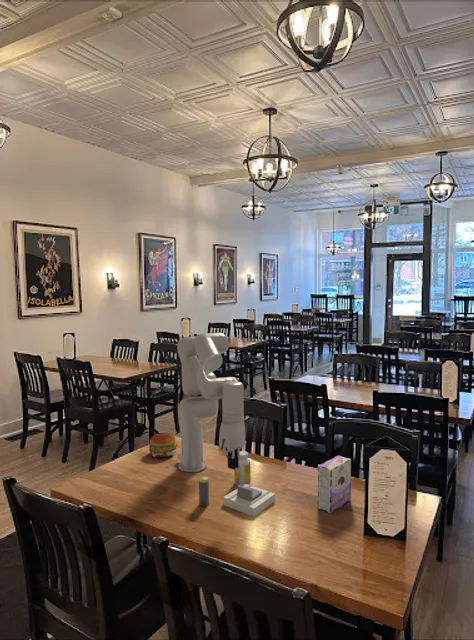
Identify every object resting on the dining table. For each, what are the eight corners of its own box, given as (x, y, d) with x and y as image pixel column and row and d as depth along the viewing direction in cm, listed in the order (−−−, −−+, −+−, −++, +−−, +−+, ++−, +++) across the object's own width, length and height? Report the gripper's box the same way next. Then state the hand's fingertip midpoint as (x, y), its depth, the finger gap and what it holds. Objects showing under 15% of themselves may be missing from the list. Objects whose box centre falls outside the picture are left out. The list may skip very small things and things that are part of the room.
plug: (196, 505, 164) (196, 479, 164) (203, 501, 167) (203, 475, 167) (204, 508, 162) (204, 481, 161) (210, 504, 165) (210, 478, 164)
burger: (163, 447, 224) (162, 427, 223) (183, 452, 216) (182, 432, 216) (143, 455, 213) (142, 435, 213) (163, 461, 205) (163, 440, 205)
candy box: (337, 495, 171) (338, 454, 170) (351, 501, 167) (351, 458, 166) (316, 508, 162) (317, 464, 161) (330, 514, 158) (331, 469, 156)
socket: (223, 505, 164) (223, 496, 164) (245, 491, 176) (245, 483, 175) (254, 516, 156) (254, 507, 156) (275, 501, 167) (275, 492, 167)
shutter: (236, 495, 165) (236, 485, 164) (247, 488, 170) (247, 479, 170) (251, 500, 161) (251, 490, 160) (262, 493, 166) (262, 483, 166)
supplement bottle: (251, 480, 185) (251, 450, 184) (250, 487, 179) (250, 456, 178) (235, 479, 186) (235, 449, 185) (233, 486, 180) (233, 455, 179)
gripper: (237, 410, 163) (237, 458, 165) (210, 420, 151) (211, 472, 153) (254, 413, 159) (254, 463, 160) (227, 424, 147) (228, 477, 148)
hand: (233, 467), depth 156 cm, fingers closed
